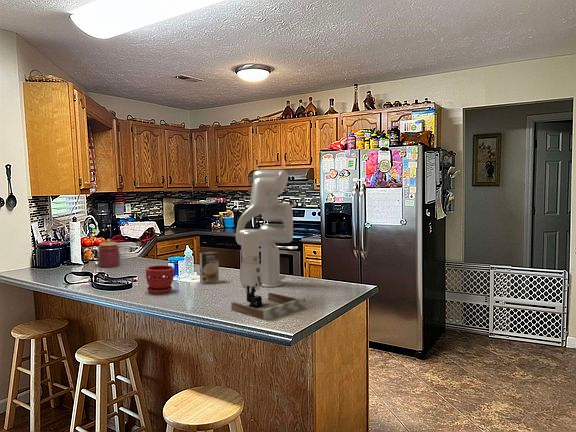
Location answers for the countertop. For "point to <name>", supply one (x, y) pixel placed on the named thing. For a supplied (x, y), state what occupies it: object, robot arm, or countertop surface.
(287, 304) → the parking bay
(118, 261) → the canister
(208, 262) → the coffee box
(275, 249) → the robot arm
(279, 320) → the countertop surface
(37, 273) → the countertop surface
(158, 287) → the plant pot
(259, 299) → the black piece
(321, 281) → the countertop surface
